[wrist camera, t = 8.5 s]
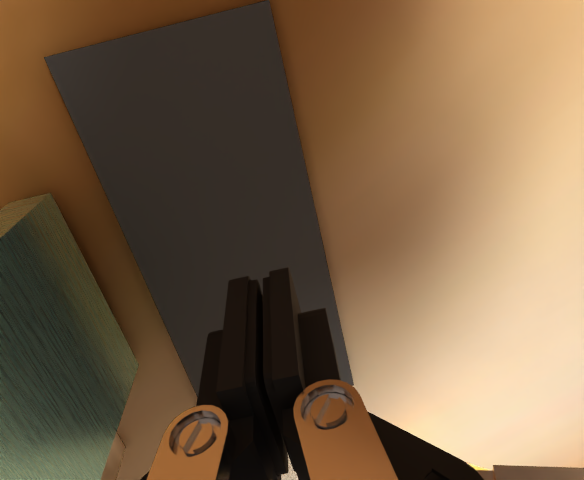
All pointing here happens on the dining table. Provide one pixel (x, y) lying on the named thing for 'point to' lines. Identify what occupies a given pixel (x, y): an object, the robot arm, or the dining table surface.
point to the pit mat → (201, 166)
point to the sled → (55, 352)
